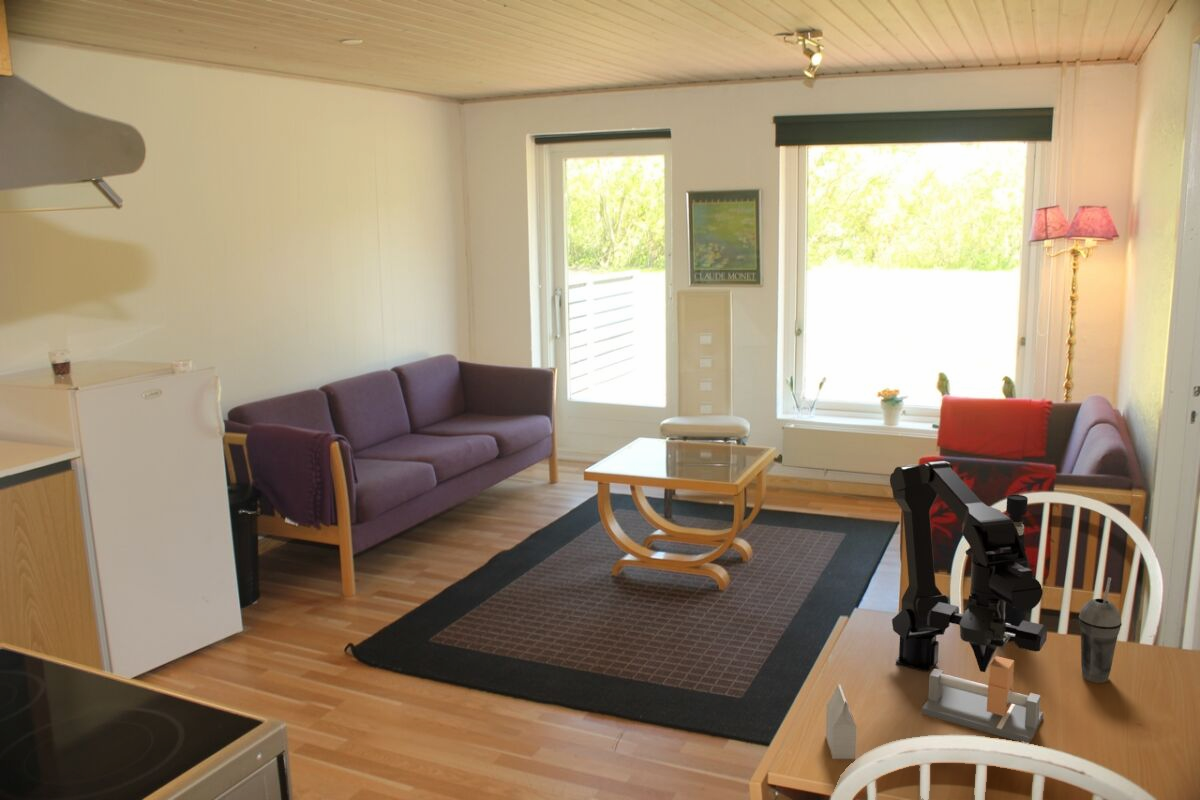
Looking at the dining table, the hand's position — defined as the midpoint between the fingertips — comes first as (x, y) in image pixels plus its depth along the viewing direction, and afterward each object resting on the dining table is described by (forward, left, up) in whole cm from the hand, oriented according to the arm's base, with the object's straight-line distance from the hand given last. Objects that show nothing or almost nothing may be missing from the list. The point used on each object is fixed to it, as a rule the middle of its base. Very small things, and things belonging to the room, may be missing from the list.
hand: (983, 671), depth 171 cm
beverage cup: (+14, +26, -9) cm, 31 cm away
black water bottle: (-4, +36, -9) cm, 37 cm away
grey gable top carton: (-17, -23, -9) cm, 30 cm away
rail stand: (0, 0, -9) cm, 9 cm away
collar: (+3, 0, -6) cm, 7 cm away
